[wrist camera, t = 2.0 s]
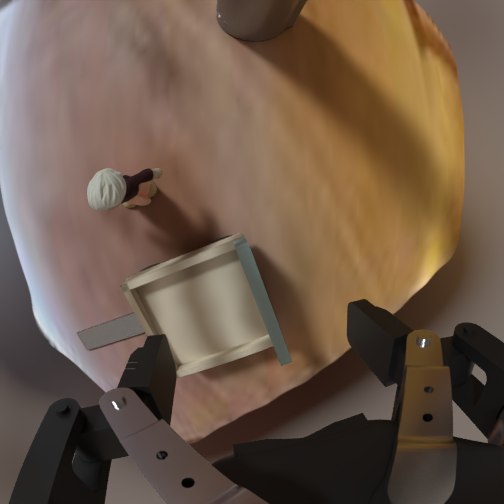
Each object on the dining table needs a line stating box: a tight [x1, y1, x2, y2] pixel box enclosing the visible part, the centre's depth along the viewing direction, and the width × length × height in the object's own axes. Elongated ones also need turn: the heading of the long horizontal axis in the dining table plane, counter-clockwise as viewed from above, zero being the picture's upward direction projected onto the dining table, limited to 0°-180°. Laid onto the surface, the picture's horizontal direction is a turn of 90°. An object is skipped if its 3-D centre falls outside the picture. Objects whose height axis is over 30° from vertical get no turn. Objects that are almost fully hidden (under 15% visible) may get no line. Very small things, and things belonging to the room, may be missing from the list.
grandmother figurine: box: [87, 168, 162, 210], centre depth 24 cm, size 8×4×13 cm, turn 123°
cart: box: [121, 232, 292, 378], centre depth 29 cm, size 14×13×9 cm
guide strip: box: [77, 312, 145, 350], centre depth 33 cm, size 26×3×1 cm, turn 110°
